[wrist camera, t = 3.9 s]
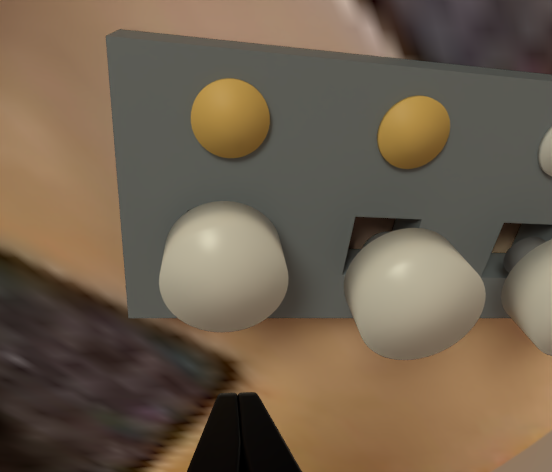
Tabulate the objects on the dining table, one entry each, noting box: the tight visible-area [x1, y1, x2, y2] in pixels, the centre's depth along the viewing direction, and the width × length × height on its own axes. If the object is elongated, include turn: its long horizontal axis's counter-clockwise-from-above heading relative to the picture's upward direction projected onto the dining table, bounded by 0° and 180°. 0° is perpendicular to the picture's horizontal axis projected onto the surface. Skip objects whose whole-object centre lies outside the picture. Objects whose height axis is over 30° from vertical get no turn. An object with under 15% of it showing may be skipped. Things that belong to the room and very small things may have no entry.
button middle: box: [344, 228, 486, 360], centre depth 15 cm, size 4×4×4 cm
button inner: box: [159, 201, 289, 332], centre depth 15 cm, size 4×4×4 cm
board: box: [106, 29, 552, 318], centre depth 16 cm, size 10×19×2 cm, turn 84°
